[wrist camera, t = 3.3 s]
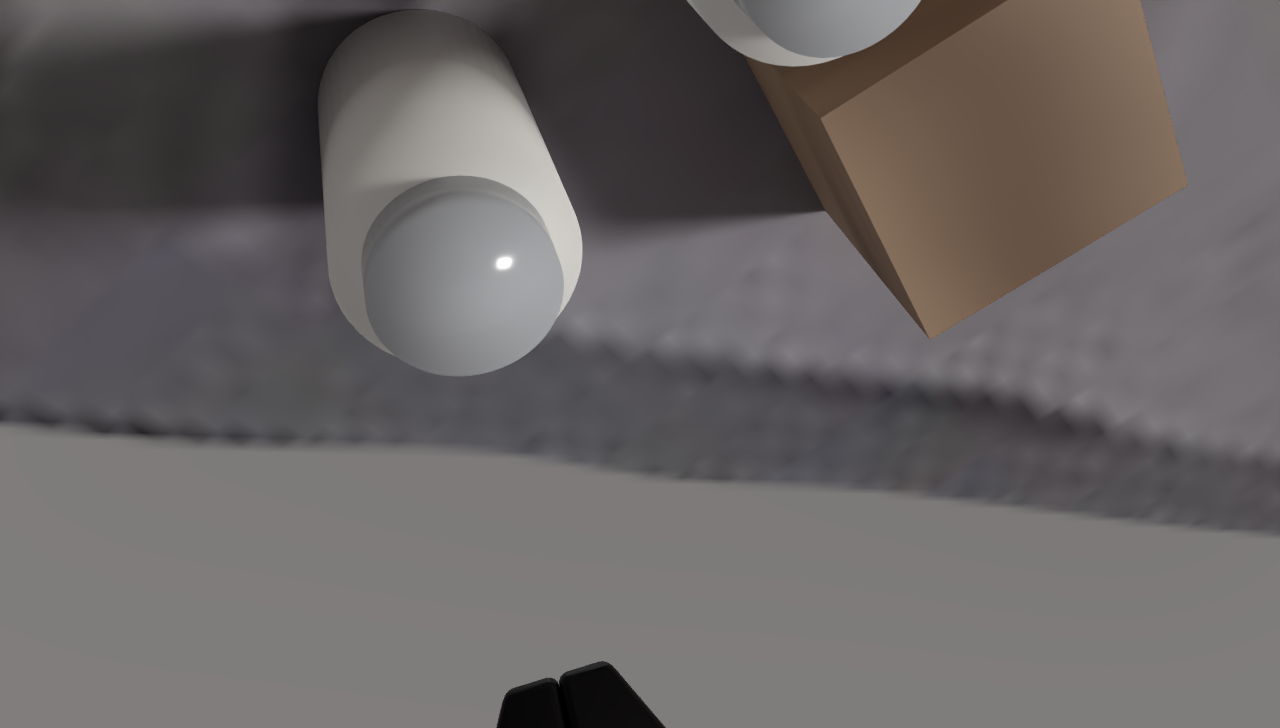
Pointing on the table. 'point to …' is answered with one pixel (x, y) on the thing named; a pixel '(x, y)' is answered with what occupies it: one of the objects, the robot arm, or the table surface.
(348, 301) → the vial
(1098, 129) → the walnut block
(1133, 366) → the table surface
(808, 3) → the vial
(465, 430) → the table surface
